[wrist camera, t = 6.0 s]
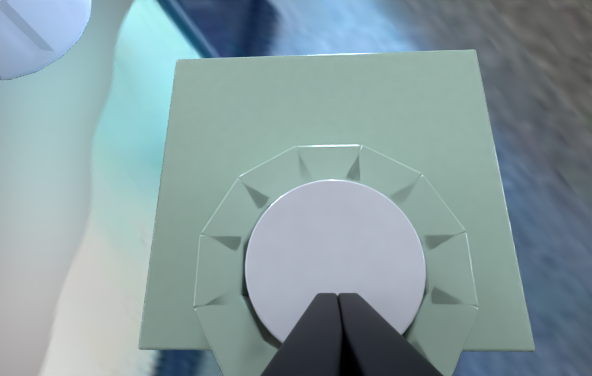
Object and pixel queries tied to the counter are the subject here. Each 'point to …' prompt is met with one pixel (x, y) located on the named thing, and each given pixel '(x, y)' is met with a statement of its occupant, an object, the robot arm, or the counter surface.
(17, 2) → the soap bottle
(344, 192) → the flush button
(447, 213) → the push button box
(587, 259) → the counter surface
